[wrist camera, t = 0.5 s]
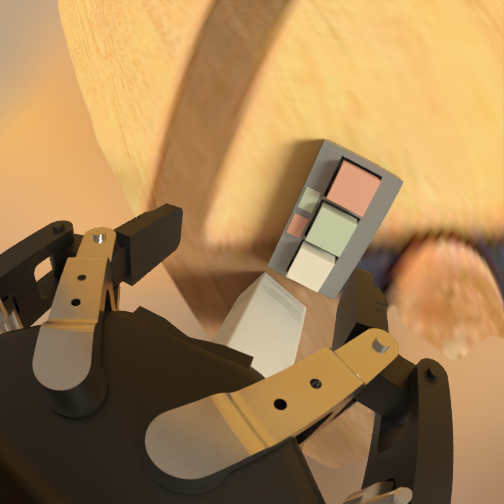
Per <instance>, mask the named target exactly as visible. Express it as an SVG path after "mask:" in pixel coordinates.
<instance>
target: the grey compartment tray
mask: <svg viewBox="0 0 504 504" xmlns="http://www.w3.org/2000/svg"><path fill="white" fill-rule="evenodd" d="M343 160H345V161H347V162H349V163H351V164H353V165H355V166H357V167H359V168H361V169H363V170H364V171H366V172H368V173H370V174H372V175H374V176H376V177H377V178H379V180H380V181H381V183H380V185H379V187H378V189H377V191H376V193H375V194H374V196H373V198H372V200H371V202H370V204H369V206H368V208H367V210H366V212H365V213H364V215H363V217H361V216H359V215H358V214H356V213H354V212H352V211H350V210H348V209H346V208H344V207H342V206H340V205H338V204H336V203H334V202H333V201H331V200H329V199H327V194H328V192H329V190H330V188H331V186H332V184H333V182H334V179H335V177H336V175H337V173H338V171H339V169H340V167H341V165H342V162H343ZM402 184H403V181H402V180H401V179H400V178H399V177H398V176H396V175H394V174H393V173H391V172H389V171H388V170H386V169H384V168H382V167H380V166H379V165H377V164H375V163H373V162H371V161H369V160H368V159H366V158H364V157H362V156H360V155H358V154H356V153H354V152H352V151H350V150H348V149H346V148H344V147H342V146H340V145H338V144H336V143H334V142H332V141H330V140H327V139H325V140H324V142H323V144H322V147H321V149H320V151H319V154H318V156H317V158H316V160H315V163H314V165H313V167H312V169H311V172H310V174H309V176H308V178H307V181H306V183H305V185H304V187H303V190H302V192H301V194H300V196H299V198H298V201H297V203H296V205H295V207H294V209H293V212H292V214H291V216H290V218H289V220H288V223H287V225H286V227H285V229H284V231H283V233H282V236H281V238H280V240H279V242H278V244H277V246H276V249H275V251H274V253H273V255H272V257H271V259H270V261H269V264H268V266H267V267H268V268H270V269H272V270H274V271H276V272H278V273H280V274H282V275H284V276H286V275H287V273H288V271H289V268H290V266H291V264H292V263H293V261H294V259H295V257H296V255H297V253H298V251H299V249H300V247H301V245H302V243H303V241H306V237H307V234H308V232H309V230H310V228H311V226H312V224H313V222H314V220H315V218H316V216H317V214H318V212H319V210H320V208H321V206H322V204H323V202H325V203H327V204H329V205H331V206H333V207H335V208H337V209H339V210H341V211H342V212H344V213H346V214H348V215H350V216H352V217H354V218H356V219H357V224H358V225H357V227H356V229H355V231H354V233H353V234H352V236H351V238H350V240H349V241H348V243H347V245H346V247H345V248H344V250H343V252H342V254H341V255H340V257H337V256H335V255H334V256H335V265H334V266H333V268H332V270H331V271H330V273H329V275H328V276H327V278H326V280H325V281H324V283H323V284H322V286H321V288H320V289H319V291H318V292H319V293H321V294H323V295H325V296H327V297H329V298H331V299H333V300H334V299H335V297H336V296H337V294H338V293H339V291H340V290H341V288H342V287H343V285H344V284H345V282H346V281H347V279H348V277H349V276H350V274H351V273H352V271H353V270H354V268H355V267H356V265H357V263H358V262H359V260H360V258H361V257H362V255H363V254H364V252H365V250H366V249H367V247H368V245H369V244H370V242H371V240H372V239H373V237H374V235H375V233H376V232H377V230H378V228H379V227H380V225H381V223H382V221H383V219H384V218H385V216H386V214H387V212H388V210H389V209H390V207H391V205H392V203H393V201H394V199H395V197H396V196H397V194H398V192H399V190H400V188H401V186H402ZM306 242H308V241H306ZM308 243H310V242H308ZM310 244H312V243H310ZM312 245H314V244H312ZM314 246H316V245H314ZM316 247H318V246H316ZM318 248H320V247H318ZM320 249H322V248H320ZM322 250H324V249H322ZM324 251H326V250H324ZM326 252H328V251H326ZM328 253H330V252H328ZM330 254H332V253H330ZM332 255H333V254H332Z"/></svg>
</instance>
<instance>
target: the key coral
mask: <svg viewBox="0 0 504 504" xmlns="http://www.w3.org/2000/svg"><path fill="white" fill-rule="evenodd" d="M380 183H381V181H380V180H379V178H377V177H376V176H374V175H372V174H370V173H368V172H366V171H364V170H363V169H361V168H359V167H357V166H355V165H353V164H351V163H349V162H347V161H345V160H343V162H342V165H341V167H340V169H339V171H338V173H337V175H336V177H335V179H334V182H333V184H332V186H331V188H330V190H329V192H328V194H327V199H329V200H331V201H333V202H334V203H336V204H338V205H340V206H342V207H344V208H346V209H348V210H350V211H352V212H354V213H356V214H358V215H359V216H361V217H363V215H364V213H365V212H366V210H367V208H368V206H369V204H370V202H371V200H372V198H373V196H374V194H375V193H376V191H377V189H378V187H379V185H380Z"/></svg>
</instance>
